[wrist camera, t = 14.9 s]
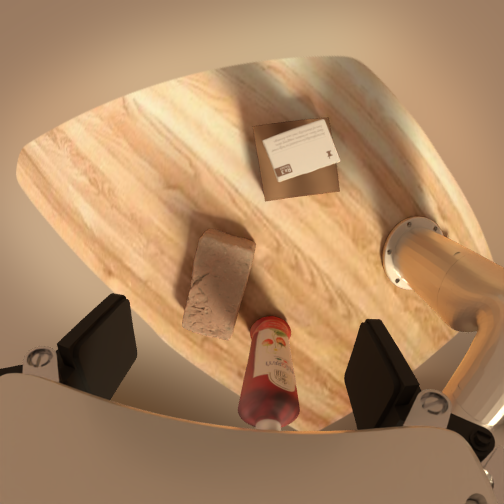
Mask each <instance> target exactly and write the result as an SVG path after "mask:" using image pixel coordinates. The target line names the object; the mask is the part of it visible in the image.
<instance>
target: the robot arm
mask: <svg viewBox="0 0 504 504" xmlns="http://www.w3.org/2000/svg"><path fill="white" fill-rule="evenodd" d="M407 223H408V225H407ZM388 250H389V251H388ZM387 251H388V252H387ZM382 260H383V267H384V271H385V273H386V275H387V277H388V278H389V279H390V280H391V282H392V283H393V284H394V285H396V286H398V287H399V288H402V289H407V290H412V289H413V290H414V291H415V292H416V293H417V294H418V295H419V296H420V297H421V298H422V299H423V300H424V301H425V302H426V303H427V304H428V305H429V306H430V307H431V308H432V309H433V311H434V312H435V313H436V314H437V315H438V316H439V317H440V318H441V319H442V320H443V321H444V322H445V323H446V324H447V325H448V326H449V327H451V328H452V329H454V330H456V331H459V332H476V331H477V333H476V335H475V337H474V339H473V341H472V343H471V345H470V348H469V350H468V351H467V353H466V355H465V357H464V358H463V360H462V361H461V363H460V365H459V366H458V368H457V370H456V371H455V372H454V374H453V376H452V377H451V379H450V380H449V382H448V383H447V385H446V387H445V388H444V390H443V391H442V392H440V391H437V390H434V389H427V390H424V391H421V389H420V387H419V383H418V381H417V379H416V378H415V376H414V374H413V372H412V370H411V369H410V367H409V365H408V363H407V362H406V360H405V358H404V357H403V355H402V353H401V352H400V350H399V348H398V347H397V345H396V343H395V342H394V340H393V338H392V337H391V335H390V334H389V332H388V330H387V329H386V327H385V326H384V324H383V322H382V321H381V320H380V319H367V320H366V321H365V323H361V325H360V328H359V331H358V335H357V338H356V341H355V345H354V348H353V351H352V354H351V357H350V360H349V363H348V366H347V369H346V372H345V377H344V380H345V385H346V388H347V392H348V395H349V399H350V402H351V406H352V410H353V413H354V417H355V421H356V424H357V429H358V430H347V431H346V430H345V431H276V430H261V429H249V428H239V427H230V426H221V425H214V424H208V423H202V422H196V421H190V420H185V419H180V418H175V417H170V416H166V415H161V414H157V413H153V412H149V411H145V410H141V409H137V408H134V407H130V406H127V405H123V404H120V403H117V402H113V401H110V399H111V398H112V396H113V394H114V393H115V391H116V390H117V388H118V387H119V385H120V383H121V382H122V380H123V378H124V377H125V375H126V374H127V372H128V371H129V369H130V368H131V366H132V364H133V363H134V361H135V360H136V358H137V348H136V342H135V336H134V330H133V323H132V317H131V309H130V302H129V300H128V299H126V297H125V296H124V295H120V294H114V293H112V294H110V295H109V296H108V297H107V298H106V299H104V300H103V301H102V302H101V303H100V304H99V305H98V306H97V307H96V308H94V309H93V310H92V311H91V312H90V313H89V314H88V315H87V316H86V317H85V318H83V319H82V320H81V321H80V322H79V323H78V324H77V325H76V326H75V327H74V328H73V329H72V330H71V331H70V332H69V333H68V334H67V335H66V336H64V337H63V338H62V339H61V341H59V342H58V343H57V346H58V350H57V351H55V350H54V349H53V348H51V347H47V346H39V347H35V348H33V349H31V350H30V351H28V352H27V353H26V355H25V356H24V359H23V365H18V366H13V367H8V368H3V369H0V504H504V267H502V266H500V265H498V264H496V263H494V262H492V261H490V260H488V259H487V258H485V257H483V256H481V255H479V254H477V253H476V252H474V251H472V250H470V249H468V248H466V247H464V246H462V245H460V244H458V243H456V242H454V241H452V240H450V239H448V238H446V237H444V236H443V233H442V231H441V229H440V228H439V226H438V225H437V224H436V223H435V222H433V221H432V220H430V219H428V218H425V217H421V216H414V217H410V218H407V219H405V220H403V221H401V222H400V223H399V224H398V225H396V226H395V228H394V229H393V230H392V231H391V233H390V234H389V236H388V237H387V240H386V242H385V245H384V249H383V257H382Z"/></svg>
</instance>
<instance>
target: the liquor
mask: <svg viewBox="0 0 504 504" xmlns="http://www.w3.org/2000/svg"><path fill="white" fill-rule="evenodd" d="M250 336H251V339H252V342H251V348H250V353H249V359H248V364H247V368H246V372H245V376H244V381H243V386H242V391H241V396H240V401H239V406H238V413H239V416H240V417H241V419H242V420H244V421H245V422H246V423H248V424H250V425H252V426H254V427H256V429H261V430H276V431H280V430H281V427H283V426H286V425H288V424H290V423H292V422H293V421H294V420H295V419H296V418H297V417H298V415H299V412H300V408H299V401H298V395H297V387H296V380H295V375H294V369H293V364H292V358H291V351H290V344H289V339H290V336H291V329H290V327H289V325H288V323H287V322H285V321H284V320H283V319H281V318H278V317H274V316H268V317H263V318H261V319H259V320H257V321H256V322H255V323H254V324H253V325H252V327H251V330H250Z"/></svg>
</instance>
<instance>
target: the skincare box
mask: <svg viewBox="0 0 504 504" xmlns="http://www.w3.org/2000/svg"><path fill="white" fill-rule="evenodd" d="M262 142H263V145H264V147H265V150H266V152H267V155H268V157H269V160H270V162H271V165H272V167H273V170H274V173H275V175H276V178H277V181H278V182H281V181H284V180H287V179H290V178H293V177H296V176H299V175H302V174H305V173H309V172H312V171H315V170H317V169H320V168H323V167H326V166H329V165H332V164H335V163H338V162H340V161H341V160H340V158H339V155H338V153H337V150H336V148H335V145H334V142H333V140H332V137H331V135H330V132H329V130H328V127H327V125H326V122H325V120H324V119H320V120H317V121H314V122H312V123H309V124H306V125H303V126H300V127H297V128H294V129H291V130H288V131H286V132H283V133H280V134H277V135H275V136H272V137H270V138H267V139H265V140H263V141H262Z"/></svg>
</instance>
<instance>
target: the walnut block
mask: <svg viewBox="0 0 504 504" xmlns="http://www.w3.org/2000/svg"><path fill="white" fill-rule="evenodd" d="M320 119H324V120H325V122H326V125H327V127H328V130H329V132H330V135H331V137H332V134H331V128H330V123H329V118H317V119H306V120H297V121H289V122H281V123H273V124H267V125H260V126H254V127H253V132H254V138H255V144H256V149H257V155H258V161H259V167H260V173H261V179H262V185H263V191H264V197H265V201H271V200H278V199H285V198H292V197H299V196H307V195H315V194H323V193H331V192H339V191H340V189H339V181H338V173H337V166H336V163H335V164H332V165H329V166H326V167H323V168H320V169H317V170H315V171H312V172H309V173H305V174H302V175H299V176H296V177H293V178H290V179H287V180H284V181H281V182H278V181H277V178H276V175H275V173H274V170H273V167H272V165H271V162H270V160H269V157H268V155H267V152H266V150H265V147H264V145H263V142H262V141H263V140H265V139H267V138H270V137H272V136H275V135H277V134H280V133H283V132H286V131H288V130H291V129H294V128H297V127H300V126H303V125H306V124H309V123H312V122H314V121H317V120H320Z"/></svg>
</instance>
